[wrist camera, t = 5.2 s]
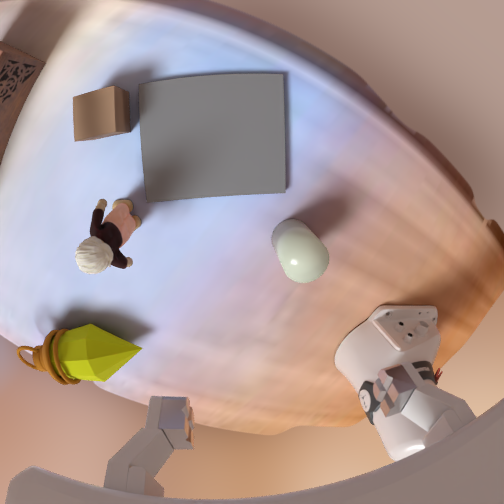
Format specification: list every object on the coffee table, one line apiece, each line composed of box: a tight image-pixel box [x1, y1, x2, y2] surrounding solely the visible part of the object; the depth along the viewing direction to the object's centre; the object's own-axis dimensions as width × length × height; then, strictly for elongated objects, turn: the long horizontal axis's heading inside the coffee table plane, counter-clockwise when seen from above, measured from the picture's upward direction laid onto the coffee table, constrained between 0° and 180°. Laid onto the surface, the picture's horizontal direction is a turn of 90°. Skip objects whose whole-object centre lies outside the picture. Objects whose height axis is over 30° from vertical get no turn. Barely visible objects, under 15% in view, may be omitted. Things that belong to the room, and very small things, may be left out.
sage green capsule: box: [271, 219, 329, 283], centre depth 32 cm, size 5×5×7 cm
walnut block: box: [73, 86, 131, 141], centre depth 24 cm, size 5×5×5 cm
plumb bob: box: [17, 324, 142, 385], centre depth 34 cm, size 9×9×25 cm
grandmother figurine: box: [75, 199, 141, 274], centre depth 26 cm, size 8×4×13 cm, turn 29°
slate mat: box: [139, 74, 285, 203], centre depth 28 cm, size 16×14×1 cm
